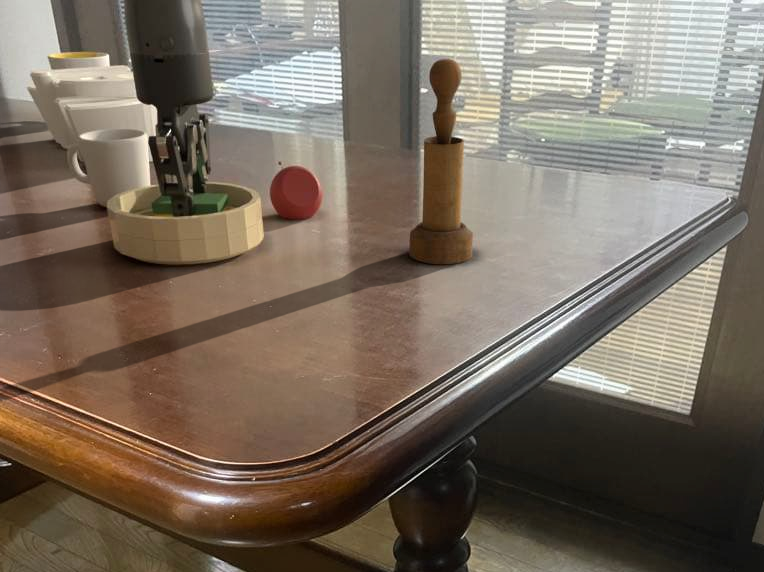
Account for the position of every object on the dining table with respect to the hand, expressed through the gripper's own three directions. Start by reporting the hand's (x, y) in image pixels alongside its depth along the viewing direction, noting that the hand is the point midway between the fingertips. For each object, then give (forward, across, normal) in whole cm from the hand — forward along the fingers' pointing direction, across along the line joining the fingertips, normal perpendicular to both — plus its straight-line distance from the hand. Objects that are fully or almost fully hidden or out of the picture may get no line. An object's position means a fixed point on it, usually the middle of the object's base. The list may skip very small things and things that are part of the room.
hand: (193, 226), depth 95 cm
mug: (+2, -75, -40) cm, 85 cm away
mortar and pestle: (+2, +3, +27) cm, 27 cm away
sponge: (+1, 0, 0) cm, 1 cm away
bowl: (+2, +2, 0) cm, 2 cm away
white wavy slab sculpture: (+2, -48, -27) cm, 55 cm away
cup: (+2, -15, -14) cm, 21 cm away
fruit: (+2, -12, +9) cm, 15 cm away
